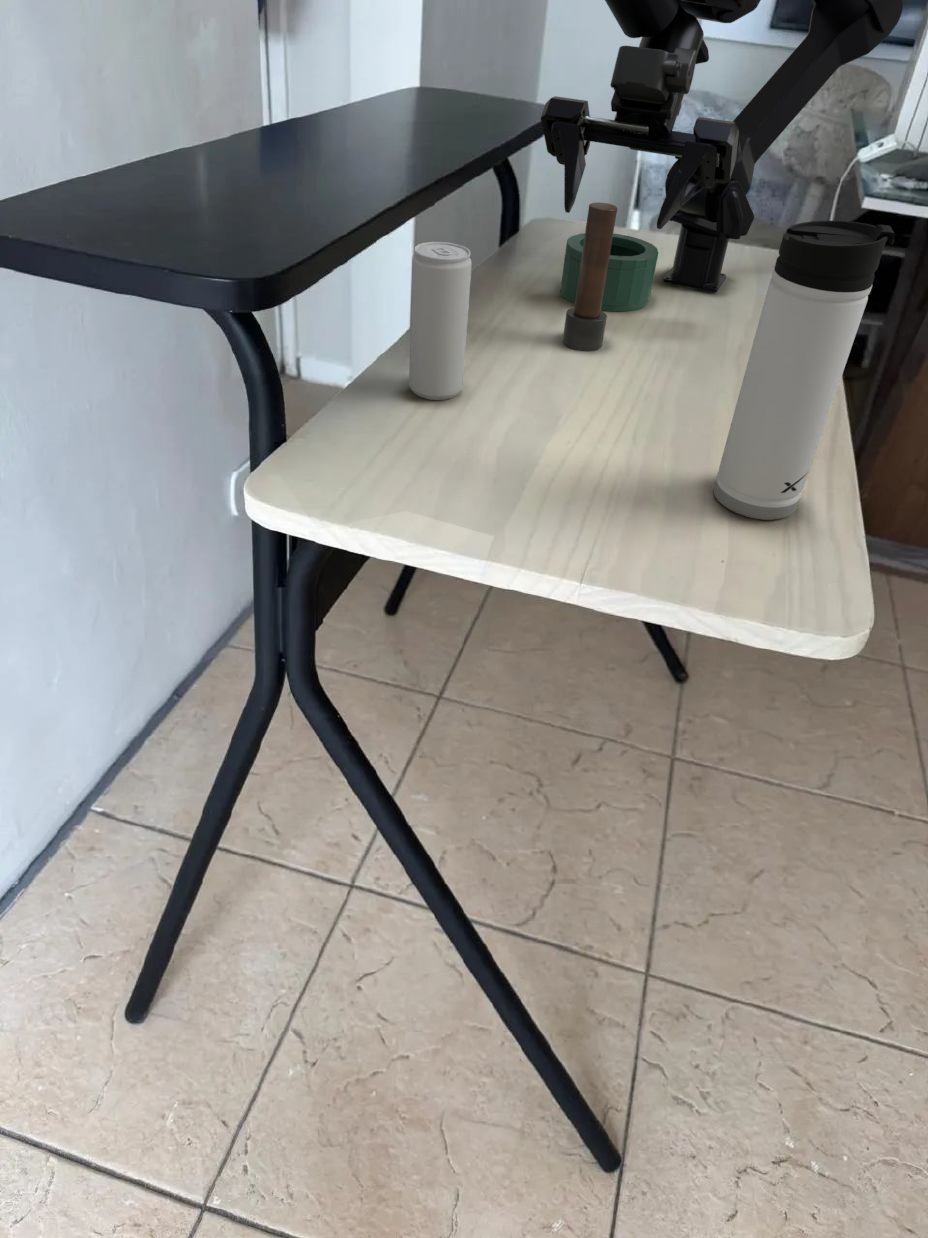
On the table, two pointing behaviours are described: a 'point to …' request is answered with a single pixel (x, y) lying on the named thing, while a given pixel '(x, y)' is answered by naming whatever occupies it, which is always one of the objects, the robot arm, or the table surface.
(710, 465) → the table surface
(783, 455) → the travel mug
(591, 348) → the brush
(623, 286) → the jar
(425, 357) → the beverage can
